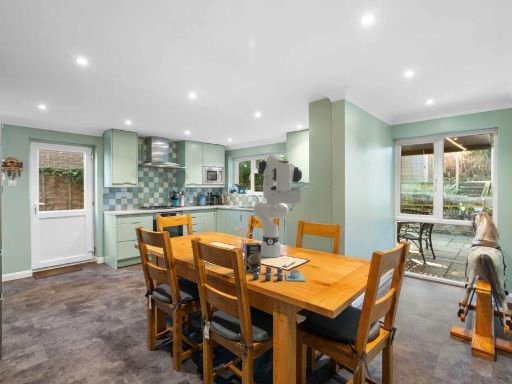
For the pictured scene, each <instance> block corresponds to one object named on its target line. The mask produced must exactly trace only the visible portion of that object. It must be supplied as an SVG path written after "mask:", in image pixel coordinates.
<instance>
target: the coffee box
mask: <svg viewBox="0 0 512 384" xmlns="http://www.w3.org/2000/svg"><path fill="white" fill-rule="evenodd" d="M243 257H244V259H243V261H244V262H243V266H244V265H245V270H244V271H245V273H253V272H255V267H256V266H258V267H260V272H261V266H262V264H261V262H262V256H261V243H259V242H248V243H245V242H244V256H243Z"/></svg>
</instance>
